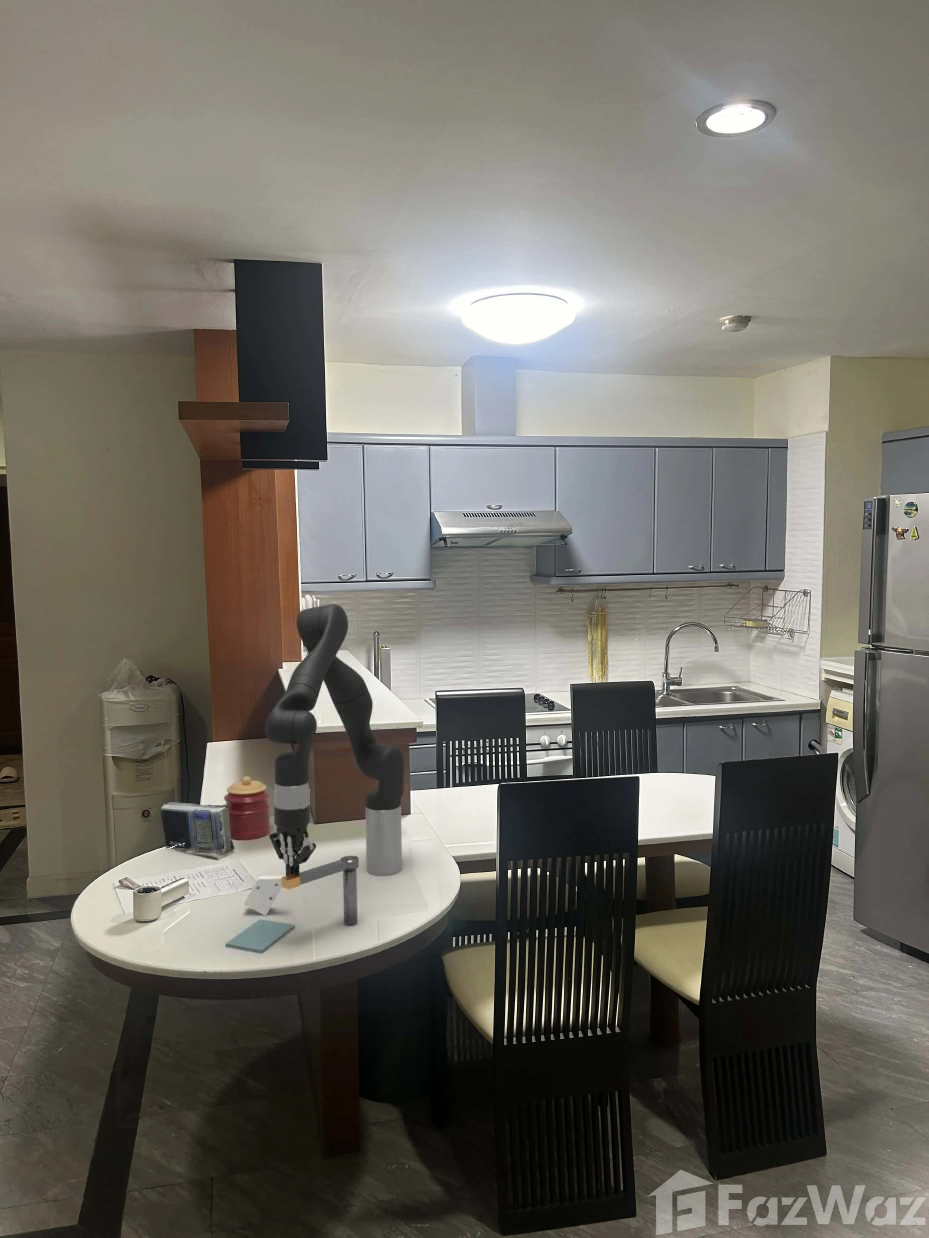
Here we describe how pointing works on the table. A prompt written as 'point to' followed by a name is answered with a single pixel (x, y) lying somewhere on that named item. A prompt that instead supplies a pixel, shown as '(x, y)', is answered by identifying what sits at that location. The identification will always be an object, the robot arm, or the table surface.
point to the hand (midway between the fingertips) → (292, 880)
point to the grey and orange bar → (320, 872)
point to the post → (350, 897)
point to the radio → (197, 829)
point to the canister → (248, 809)
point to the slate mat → (260, 936)
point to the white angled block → (264, 893)
